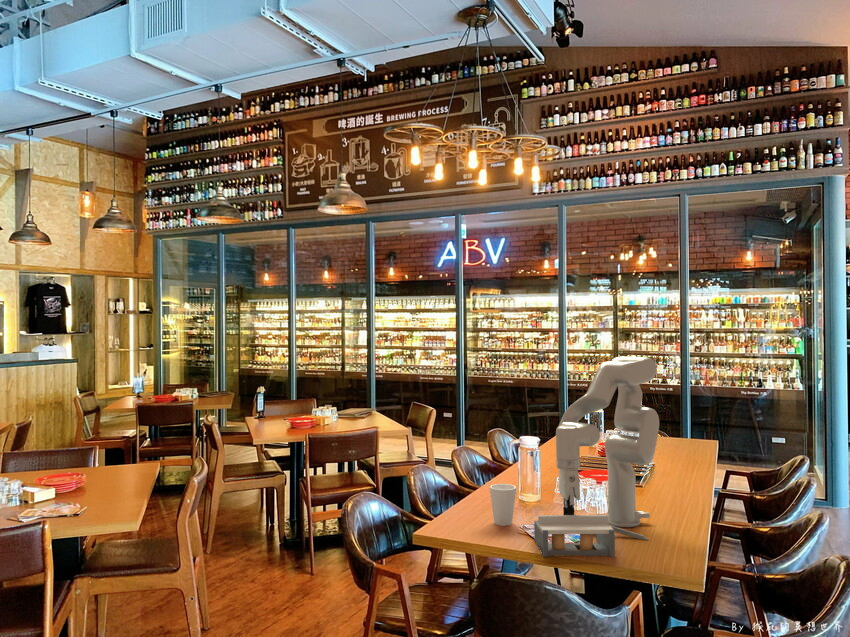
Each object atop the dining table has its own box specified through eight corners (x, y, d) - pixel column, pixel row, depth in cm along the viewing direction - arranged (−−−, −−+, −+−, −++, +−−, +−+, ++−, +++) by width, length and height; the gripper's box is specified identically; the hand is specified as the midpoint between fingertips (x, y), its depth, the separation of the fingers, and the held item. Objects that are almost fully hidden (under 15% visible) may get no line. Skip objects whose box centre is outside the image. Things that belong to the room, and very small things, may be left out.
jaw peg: (594, 554, 195) (595, 536, 195) (582, 554, 194) (583, 536, 195) (589, 549, 199) (589, 532, 199) (577, 549, 198) (577, 532, 199)
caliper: (585, 533, 216) (585, 514, 216) (586, 532, 217) (586, 514, 217) (648, 541, 208) (648, 522, 208) (648, 540, 209) (648, 521, 209)
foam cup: (520, 521, 229) (520, 485, 229) (510, 528, 221) (510, 491, 221) (496, 517, 234) (496, 482, 234) (485, 524, 226) (485, 488, 226)
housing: (600, 540, 208) (600, 515, 208) (614, 556, 193) (614, 530, 193) (534, 540, 208) (534, 516, 208) (543, 556, 193) (543, 530, 193)
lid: (607, 526, 201) (607, 515, 201) (613, 533, 194) (613, 521, 194) (538, 526, 201) (538, 515, 201) (542, 534, 194) (542, 521, 194)
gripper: (585, 468, 200) (586, 526, 200) (573, 458, 215) (574, 512, 215) (562, 468, 200) (562, 526, 200) (551, 458, 215) (552, 512, 215)
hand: (568, 519), depth 207 cm, fingers closed
